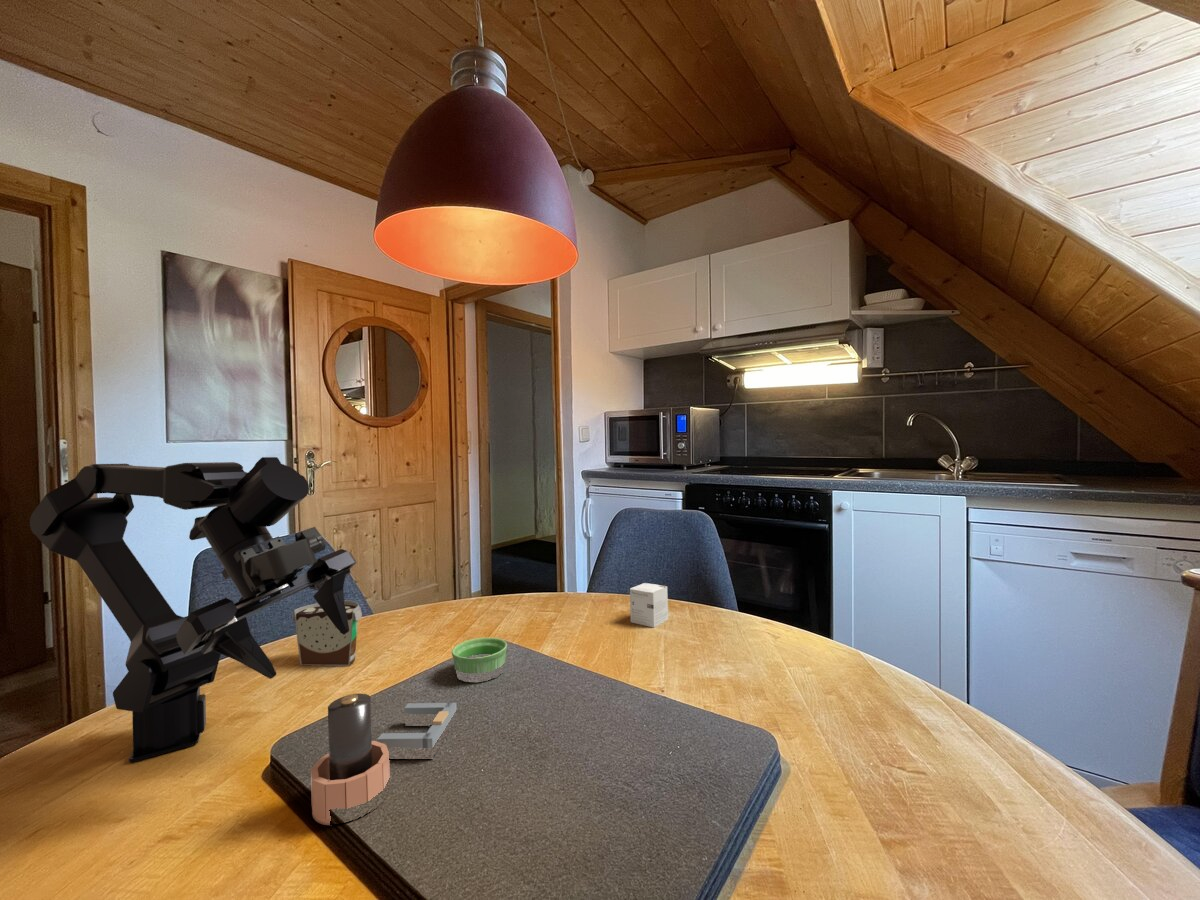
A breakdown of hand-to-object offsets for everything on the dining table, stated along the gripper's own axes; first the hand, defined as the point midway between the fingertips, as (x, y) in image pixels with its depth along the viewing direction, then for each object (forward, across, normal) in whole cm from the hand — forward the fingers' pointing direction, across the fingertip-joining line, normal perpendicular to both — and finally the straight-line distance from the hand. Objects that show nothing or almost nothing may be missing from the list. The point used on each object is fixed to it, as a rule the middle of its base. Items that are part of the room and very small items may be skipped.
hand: (312, 653), depth 58 cm
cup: (+16, -5, -2) cm, 17 cm away
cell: (+15, -5, -2) cm, 16 cm away
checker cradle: (+16, +5, +1) cm, 17 cm away
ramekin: (+17, +23, +8) cm, 30 cm away
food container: (0, +18, +32) cm, 36 cm away
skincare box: (+32, +56, -3) cm, 65 cm away
